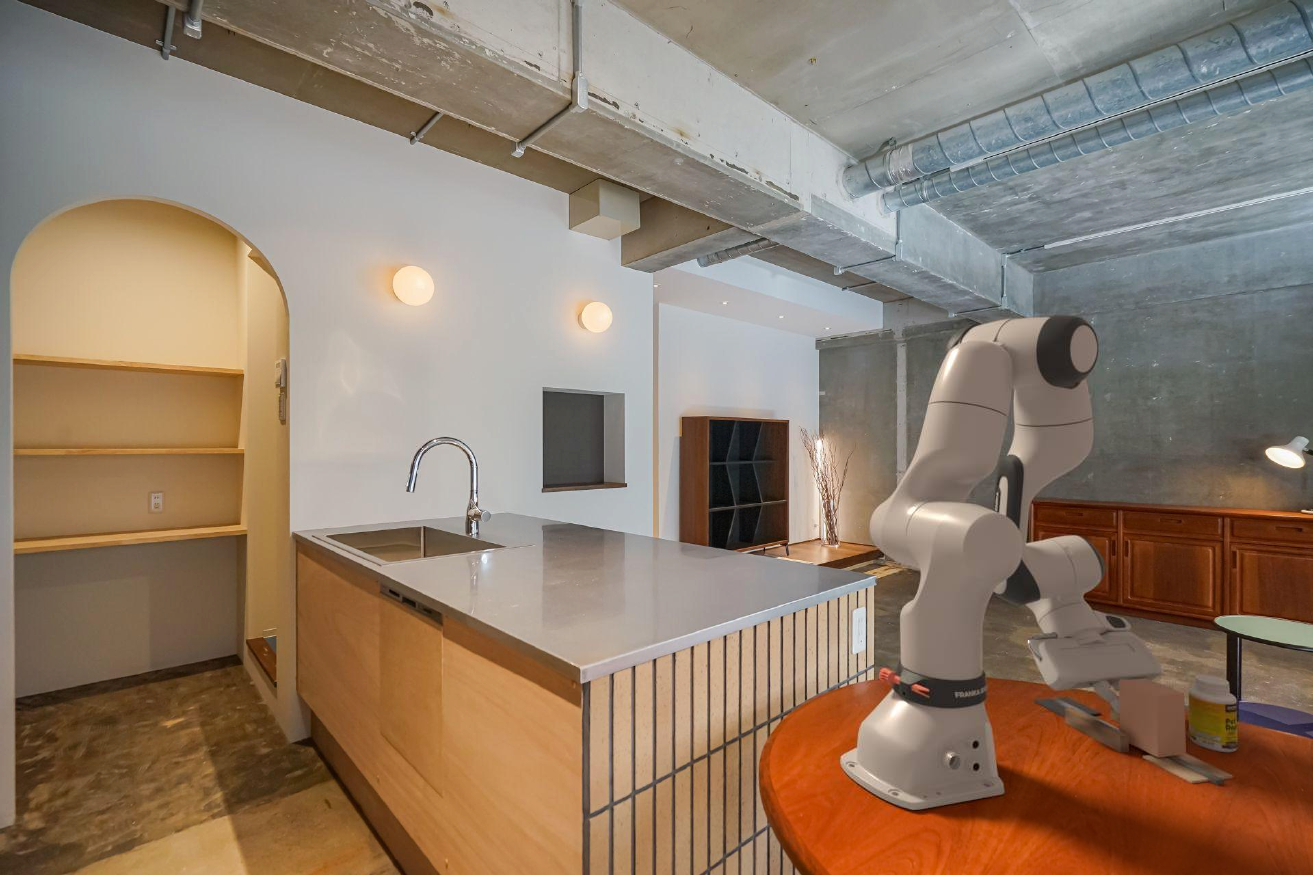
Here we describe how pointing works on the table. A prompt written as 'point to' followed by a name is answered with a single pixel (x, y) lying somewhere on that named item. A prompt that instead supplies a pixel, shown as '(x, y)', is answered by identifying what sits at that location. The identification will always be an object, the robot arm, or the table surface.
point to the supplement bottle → (1213, 714)
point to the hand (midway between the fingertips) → (1128, 710)
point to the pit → (1061, 710)
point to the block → (1152, 717)
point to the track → (1115, 734)
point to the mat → (1186, 772)
